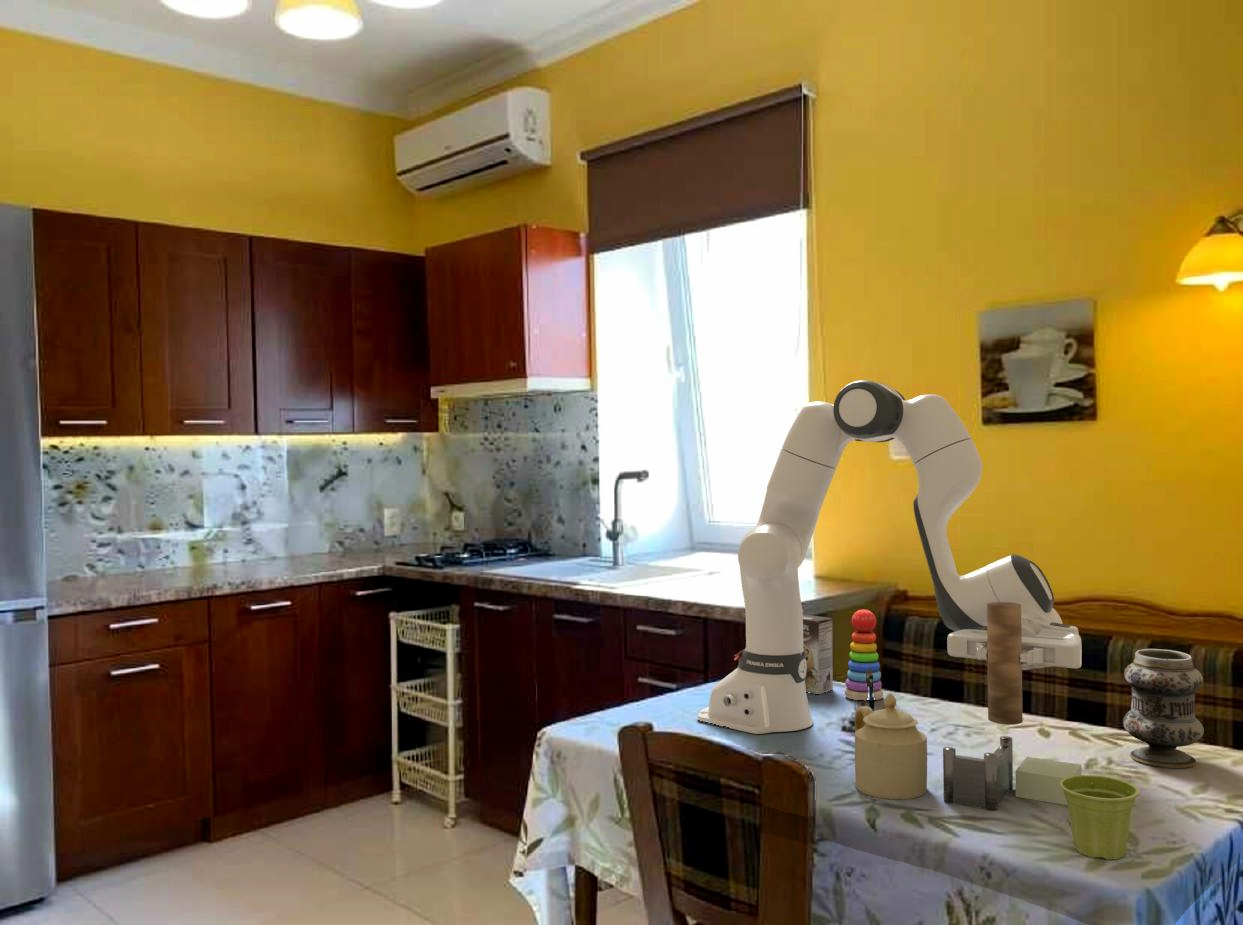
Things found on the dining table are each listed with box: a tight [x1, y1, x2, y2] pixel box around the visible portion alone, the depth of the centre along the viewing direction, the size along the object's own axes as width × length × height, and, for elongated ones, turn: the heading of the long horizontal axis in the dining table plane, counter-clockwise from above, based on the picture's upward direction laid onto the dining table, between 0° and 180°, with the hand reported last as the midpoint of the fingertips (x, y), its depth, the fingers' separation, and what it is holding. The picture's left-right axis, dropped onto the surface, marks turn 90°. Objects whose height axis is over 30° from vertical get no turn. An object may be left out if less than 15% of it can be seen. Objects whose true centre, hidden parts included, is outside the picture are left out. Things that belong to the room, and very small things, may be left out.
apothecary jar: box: [1122, 648, 1205, 769], centre depth 173 cm, size 12×12×18 cm
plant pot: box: [1060, 774, 1140, 860], centre depth 135 cm, size 9×9×9 cm
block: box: [1015, 756, 1083, 806], centre depth 158 cm, size 8×8×4 cm
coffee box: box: [803, 613, 834, 695], centre depth 226 cm, size 9×6×16 cm
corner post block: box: [942, 735, 1014, 812], centre depth 158 cm, size 8×12×8 cm, turn 147°
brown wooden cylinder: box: [986, 602, 1023, 726], centre depth 159 cm, size 5×5×18 cm
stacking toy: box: [844, 609, 884, 702], centre depth 218 cm, size 8×8×19 cm
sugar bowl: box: [854, 692, 928, 800], centre depth 163 cm, size 15×11×15 cm
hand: (1003, 657), depth 159 cm, fingers closed on brown wooden cylinder, 5 cm apart
